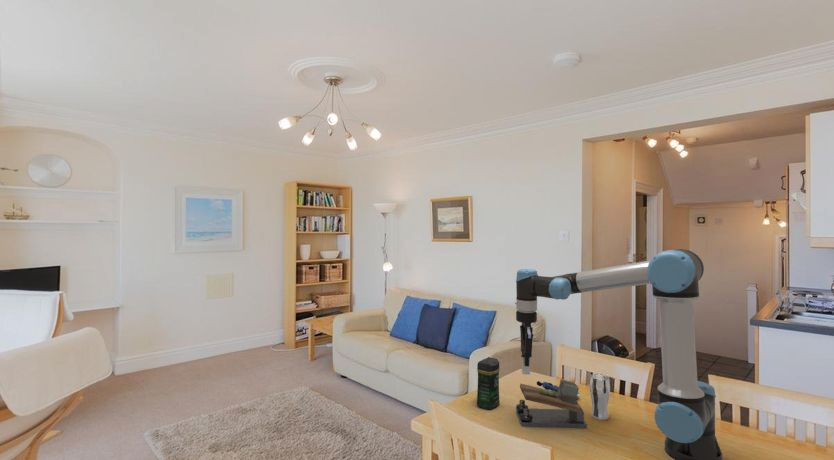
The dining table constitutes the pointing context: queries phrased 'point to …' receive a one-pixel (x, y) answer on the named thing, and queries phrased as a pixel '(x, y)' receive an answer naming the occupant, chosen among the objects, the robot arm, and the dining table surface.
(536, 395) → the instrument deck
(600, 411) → the beer glass
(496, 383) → the coffee jar
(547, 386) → the person figurine
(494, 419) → the dining table surface
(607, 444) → the dining table surface
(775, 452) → the dining table surface
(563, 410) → the grey base with fittings
